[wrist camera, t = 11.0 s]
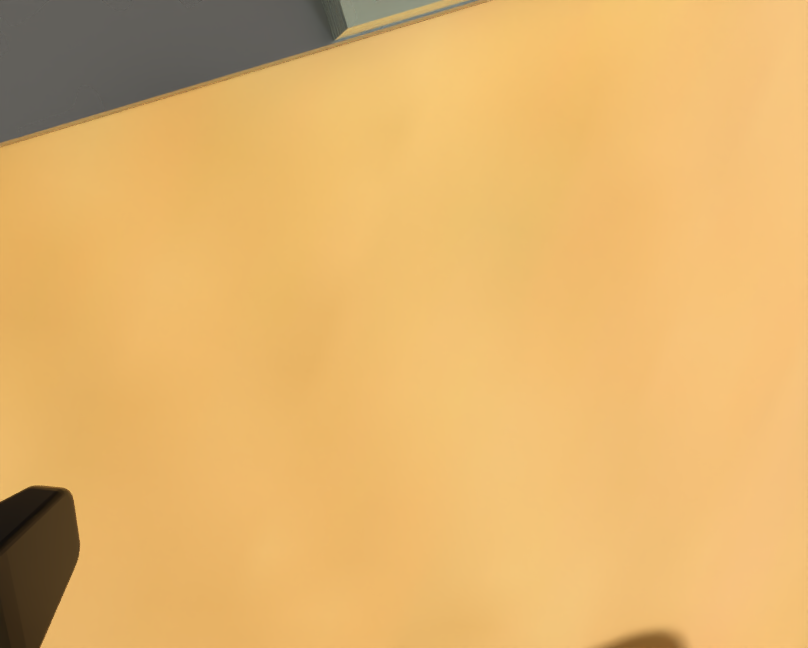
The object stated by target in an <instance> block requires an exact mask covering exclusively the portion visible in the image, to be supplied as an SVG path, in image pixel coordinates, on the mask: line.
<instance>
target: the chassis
mask: <svg viewBox="0 0 808 648" xmlns="http://www.w3.org/2000/svg"><path fill="white" fill-rule="evenodd" d="M488 1H491V0H0V147H3V146H7V145H10V144H13V143H17V142H20V141H23V140H27V139H30V138H33V137H37V136H40V135H43V134H47V133H50V132H53V131H57V130H60V129H63V128H67V127H70V126H73V125H77V124H80V123H83V122H87V121H90V120H93V119H97V118H100V117H103V116H107V115H110V114H113V113H117V112H120V111H124V110H127V109H130V108H134V107H137V106H140V105H144V104H147V103H150V102H154V101H157V100H160V99H164V98H167V97H170V96H174V95H177V94H180V93H184V92H187V91H190V90H194V89H197V88H200V87H204V86H207V85H210V84H214V83H217V82H220V81H224V80H227V79H230V78H234V77H237V76H240V75H244V74H247V73H250V72H254V71H257V70H261V69H264V68H267V67H271V66H274V65H277V64H281V63H284V62H287V61H291V60H294V59H297V58H301V57H304V56H307V55H311V54H314V53H317V52H321V51H324V50H327V49H331V48H334V47H337V46H341V45H344V44H347V43H351V42H354V41H357V40H361V39H364V38H367V37H371V36H374V35H377V34H381V33H384V32H388V31H391V30H394V29H398V28H401V27H404V26H408V25H411V24H414V23H418V22H421V21H424V20H428V19H431V18H434V17H438V16H441V15H444V14H448V13H451V12H454V11H458V10H461V9H464V8H468V7H471V6H474V5H478V4H481V3H484V2H488Z"/></svg>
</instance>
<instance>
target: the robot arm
mask: <svg viewBox="0 0 808 648" xmlns="http://www.w3.org/2000/svg"><path fill="white" fill-rule="evenodd" d="M79 551H80V540H79V533H78V526H77V520H76V513H75V506H74V500H73V496H72V494H71V492H70V491H69V490H67V489H65V488H60V487H50V486H31V487H28V488H26V489H24V490H22V491H20V492H18V493H16V494H15V495H13V496H11V497H9V498H7V499H5V500H3V501H1V502H0V648H40V647H41V644H42V642H43V640H44V637H45V635H46V633H47V630H48V628H49V626H50V624H51V621H52V619H53V617H54V614H55V612H56V610H57V607H58V605H59V603H60V601H61V598H62V596H63V594H64V591H65V589H66V587H67V584H68V582H69V580H70V577H71V575H72V573H73V571H74V568H75V566H76V563H77V560H78V557H79Z"/></svg>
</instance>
